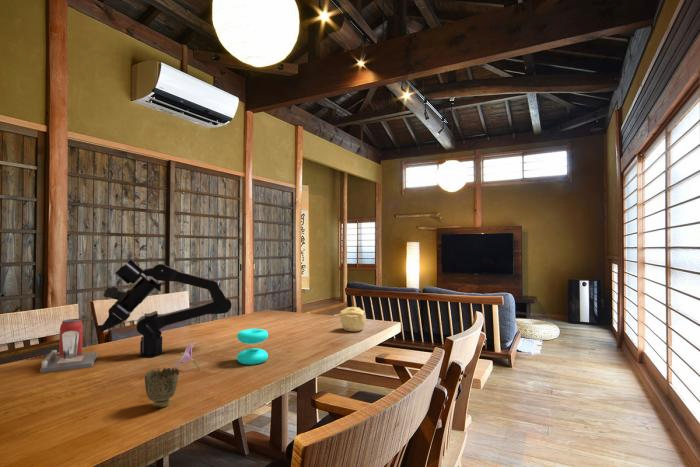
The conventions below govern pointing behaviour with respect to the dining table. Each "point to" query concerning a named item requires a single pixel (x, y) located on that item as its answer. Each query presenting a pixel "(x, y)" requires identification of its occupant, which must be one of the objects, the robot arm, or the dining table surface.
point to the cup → (161, 386)
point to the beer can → (71, 326)
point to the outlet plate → (67, 362)
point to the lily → (187, 356)
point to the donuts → (252, 354)
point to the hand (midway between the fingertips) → (102, 328)
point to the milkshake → (70, 344)
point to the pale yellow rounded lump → (353, 319)
